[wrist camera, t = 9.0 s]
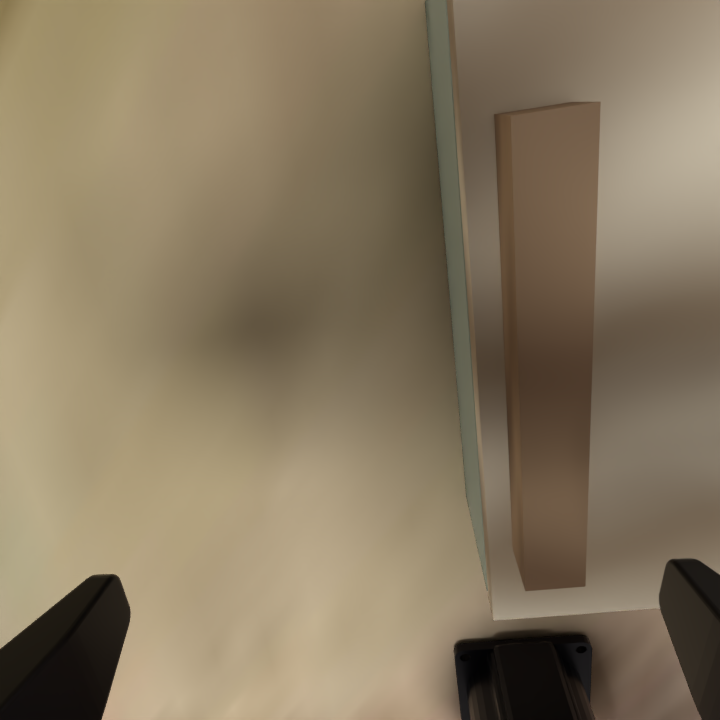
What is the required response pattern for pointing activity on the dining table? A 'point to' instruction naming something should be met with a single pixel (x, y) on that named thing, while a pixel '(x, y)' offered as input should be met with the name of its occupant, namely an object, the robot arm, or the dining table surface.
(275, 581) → the dining table surface
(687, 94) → the slatted box lid
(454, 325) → the grey-green open box
